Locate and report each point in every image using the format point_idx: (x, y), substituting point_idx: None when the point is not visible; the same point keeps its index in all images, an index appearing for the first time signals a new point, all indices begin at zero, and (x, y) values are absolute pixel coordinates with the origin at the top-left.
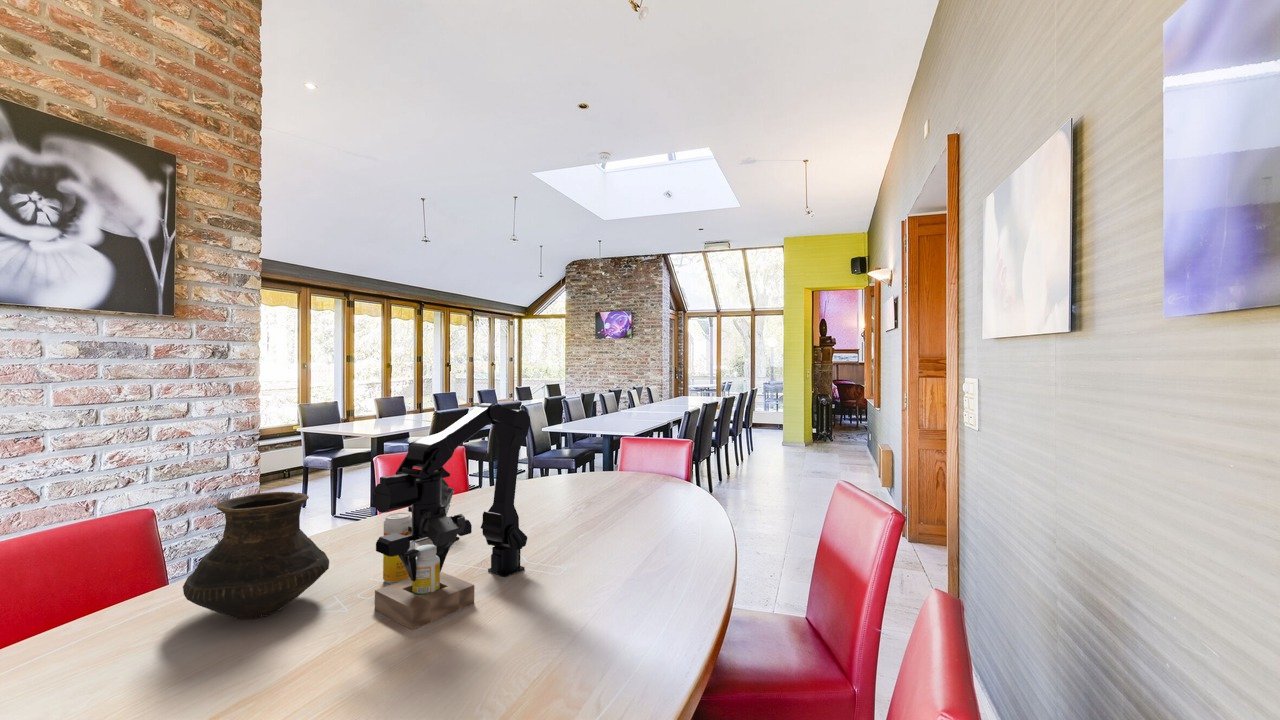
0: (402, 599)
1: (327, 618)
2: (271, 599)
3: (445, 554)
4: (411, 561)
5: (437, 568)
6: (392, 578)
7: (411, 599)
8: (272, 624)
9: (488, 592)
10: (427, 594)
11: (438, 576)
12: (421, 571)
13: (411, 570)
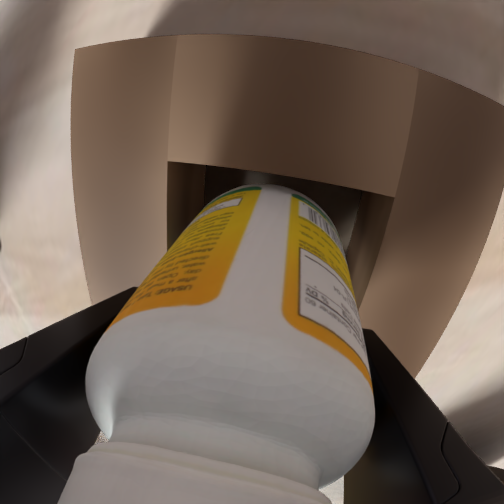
0: (452, 262)
1: (445, 400)
2: (493, 471)
3: (19, 351)
4: (474, 475)
5: (183, 270)
6: None
7: (441, 215)
8: (471, 433)
9: (47, 112)
10: (342, 178)
11: (195, 232)
12: (363, 344)
13: (430, 399)
